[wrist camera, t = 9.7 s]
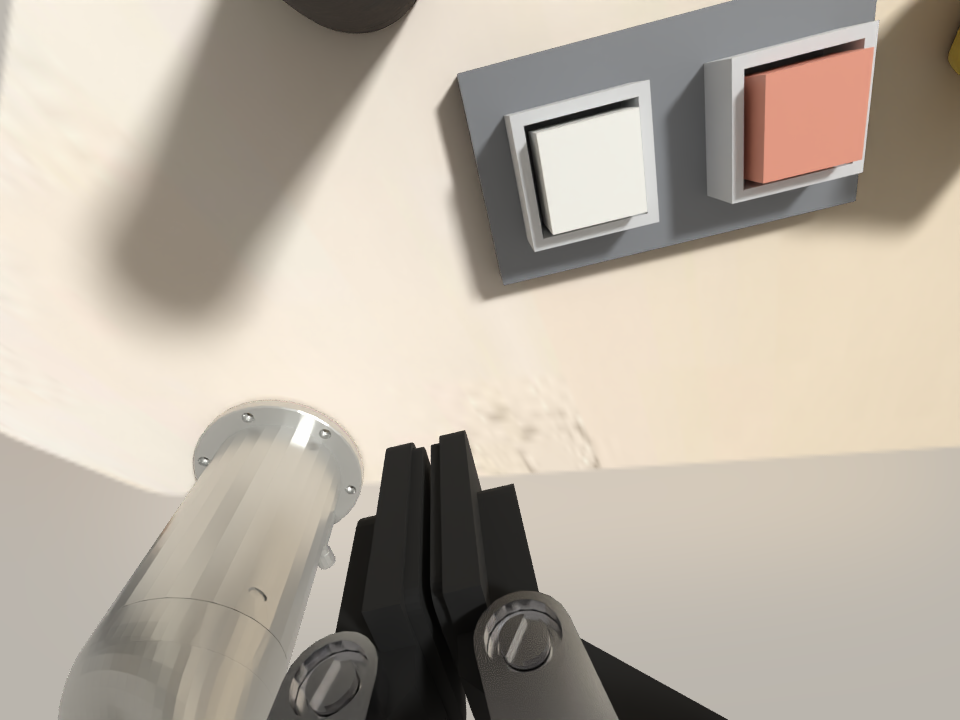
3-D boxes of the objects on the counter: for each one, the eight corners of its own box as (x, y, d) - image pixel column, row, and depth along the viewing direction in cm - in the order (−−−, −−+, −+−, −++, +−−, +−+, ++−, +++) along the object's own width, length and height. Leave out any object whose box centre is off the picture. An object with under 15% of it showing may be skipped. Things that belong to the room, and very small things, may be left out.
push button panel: (833, 196, 32) (894, 209, 28) (501, 276, 34) (508, 301, 29) (852, -30, 27) (931, -57, 23) (456, 76, 28) (457, 69, 24)
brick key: (823, 154, 28) (862, 159, 25) (733, 176, 28) (763, 183, 26) (830, 53, 26) (874, 46, 23) (733, 78, 26) (765, 74, 24)
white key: (629, 202, 29) (647, 211, 26) (543, 223, 29) (553, 234, 26) (620, 107, 27) (639, 107, 24) (527, 131, 27) (536, 133, 24)
